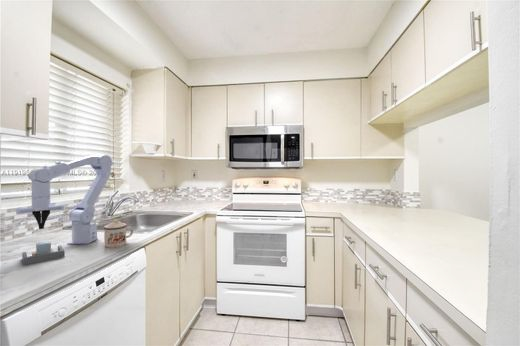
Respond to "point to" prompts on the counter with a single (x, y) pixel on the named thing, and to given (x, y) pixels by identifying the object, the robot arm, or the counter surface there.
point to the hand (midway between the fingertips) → (41, 228)
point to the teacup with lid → (115, 234)
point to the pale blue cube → (43, 247)
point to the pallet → (36, 254)
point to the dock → (43, 256)
